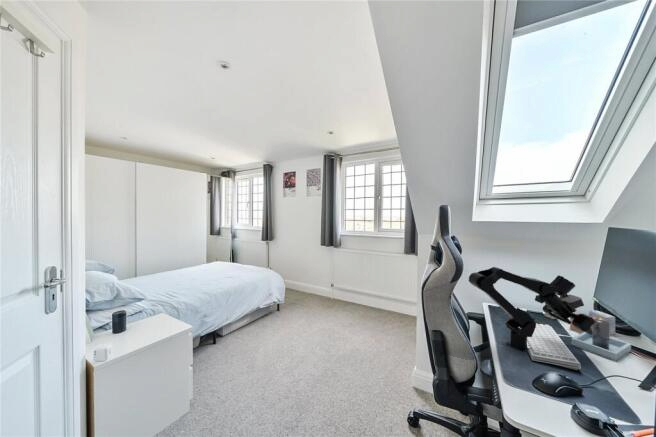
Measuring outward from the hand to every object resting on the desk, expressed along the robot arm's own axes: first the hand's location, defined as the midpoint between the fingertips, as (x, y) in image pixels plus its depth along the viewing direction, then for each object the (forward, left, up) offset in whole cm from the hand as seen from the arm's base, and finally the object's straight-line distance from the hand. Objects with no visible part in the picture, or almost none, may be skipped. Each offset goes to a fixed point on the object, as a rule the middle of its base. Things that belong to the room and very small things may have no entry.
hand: (580, 328), depth 104 cm
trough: (+7, -4, -8) cm, 12 cm away
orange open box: (+21, +6, -8) cm, 24 cm away
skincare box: (+27, +20, -8) cm, 35 cm away
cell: (+7, -4, -8) cm, 11 cm away
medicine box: (+29, +2, -9) cm, 31 cm away
